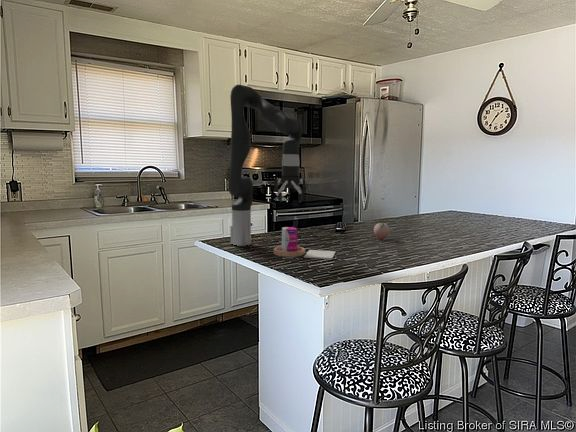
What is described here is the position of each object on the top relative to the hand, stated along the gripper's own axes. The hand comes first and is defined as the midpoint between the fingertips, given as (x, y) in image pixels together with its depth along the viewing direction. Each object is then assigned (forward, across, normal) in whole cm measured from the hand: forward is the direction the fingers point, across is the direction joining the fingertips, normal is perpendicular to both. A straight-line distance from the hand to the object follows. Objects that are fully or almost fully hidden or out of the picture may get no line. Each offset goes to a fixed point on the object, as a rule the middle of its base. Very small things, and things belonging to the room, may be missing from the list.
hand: (290, 202), depth 181 cm
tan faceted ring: (+23, 0, 0) cm, 23 cm away
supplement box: (+23, 0, 0) cm, 23 cm away
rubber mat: (+23, +14, 0) cm, 27 cm away
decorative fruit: (+23, +40, +44) cm, 64 cm away
